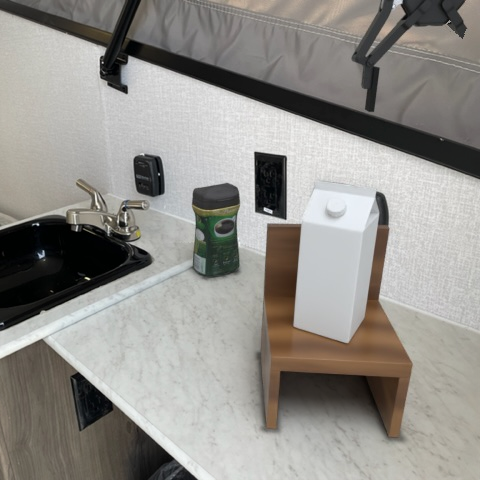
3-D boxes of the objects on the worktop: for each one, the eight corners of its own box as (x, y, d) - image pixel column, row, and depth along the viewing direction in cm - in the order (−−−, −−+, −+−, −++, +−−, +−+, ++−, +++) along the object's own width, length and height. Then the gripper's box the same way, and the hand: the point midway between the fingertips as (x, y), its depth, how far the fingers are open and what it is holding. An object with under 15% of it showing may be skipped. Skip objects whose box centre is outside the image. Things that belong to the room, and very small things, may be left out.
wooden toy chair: (398, 437, 61) (429, 278, 53) (266, 428, 63) (276, 274, 55) (366, 359, 76) (387, 224, 67) (260, 353, 78) (267, 223, 70)
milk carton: (312, 304, 70) (324, 173, 63) (364, 319, 66) (384, 181, 59) (292, 327, 65) (303, 187, 57) (348, 345, 61) (367, 197, 54)
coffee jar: (225, 257, 112) (226, 177, 105) (244, 271, 105) (247, 186, 98) (187, 266, 108) (185, 184, 101) (204, 281, 101) (204, 194, 94)
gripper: (352, -45, 67) (336, 114, 75) (554, -57, 64) (515, 112, 72) (341, -38, 74) (327, 107, 82) (523, -48, 71) (490, 105, 79)
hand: (415, 110), depth 77 cm, fingers open, 13 cm apart
